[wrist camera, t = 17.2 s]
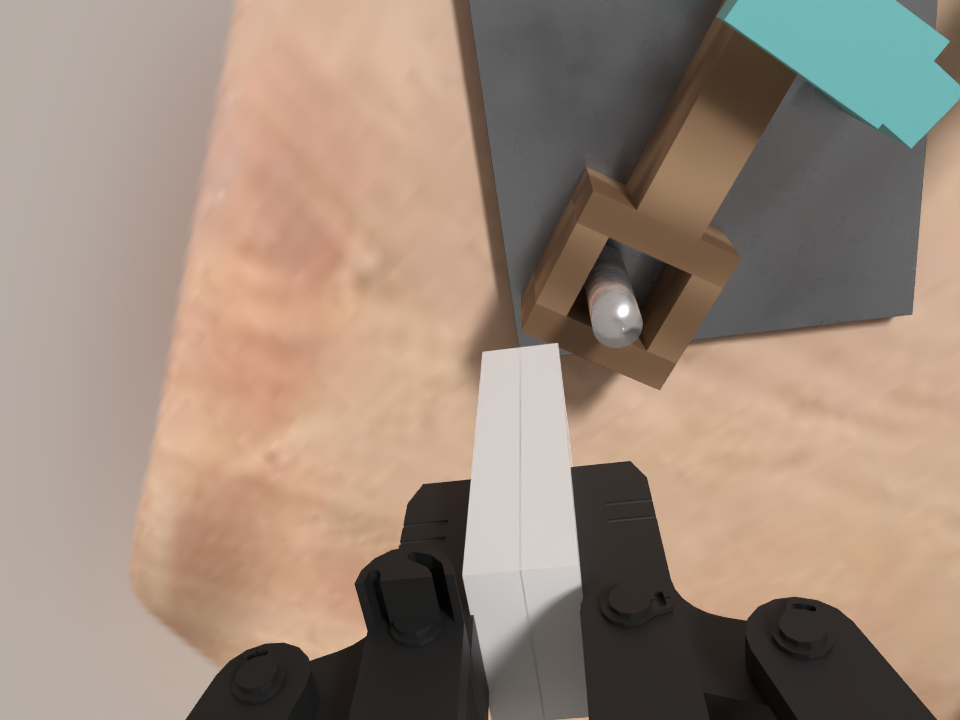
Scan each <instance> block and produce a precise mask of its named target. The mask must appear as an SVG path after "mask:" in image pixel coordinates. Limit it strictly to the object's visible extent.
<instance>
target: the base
mask: <svg viewBox="0 0 960 720" xmlns="http://www.w3.org/2000/svg"><path fill="white" fill-rule="evenodd" d="M723 1H724V0H469V5H470V12H471V19H472V26H473V33H474V40H475V47H476V54H477V61H478V68H479V75H480V81H481V88H482V95H483V102H484V109H485V116H486V123H487V130H488V137H489V144H490V150H491V157H492V164H493V171H494V178H495V185H496V192H497V199H498V206H499V213H500V220H501V226H502V233H503V240H504V247H505V254H506V261H507V268H508V275H509V282H510V289H511V295H512V302H513V309H514V316H515V323H516V330H517V337H518V344H519V347H527V346H536V345H544V344H549V343H547V342H545V341H542V340H540V339H537V338H535V337H533V336H530V335H528V334H526V333H523V332H521V296H522V294H523V292H524V290H525V288H526V286H527V284H528V282H529V280H530V278H531V276H532V274H533V272H534V270H535V268H536V266H537V264H538V262H539V260H540V258H541V256H542V254H543V252H544V250H545V248H546V246H547V245H548V243H549V241H550V239H551V237H552V235H553V233H554V231H555V229H556V227H557V225H558V223H559V221H560V219H561V217H562V215H563V213H564V211H565V209H566V207H567V205H568V203H569V201H570V199H571V197H572V195H573V193H574V191H575V189H576V187H577V185H578V183H579V181H580V179H581V177H582V175H583V173H584V171H585V169H586V167H588V168H590V169H592V170H594V171H596V172H598V173H601V174H603V175H605V176H607V177H609V178H611V179H614V180H616V181H618V182H620V183H622V184H624V185H626V184H627V182H628V180H629V178H630V176H631V174H632V173H633V171H634V169H635V167H636V165H637V163H638V161H639V159H640V157H641V156H642V154H643V152H644V150H645V148H646V146H647V144H648V142H649V140H650V139H651V137H652V135H653V133H654V131H655V129H656V127H657V125H658V123H659V122H660V120H661V118H662V116H663V114H664V112H665V110H666V108H667V107H668V105H669V103H670V101H671V99H672V97H673V95H674V93H675V91H676V90H677V88H678V86H679V84H680V82H681V80H682V78H683V76H684V74H685V73H686V71H687V69H688V67H689V65H690V63H691V61H692V59H693V58H694V56H695V54H696V52H697V50H698V48H699V46H700V44H701V42H702V41H703V39H704V37H705V35H706V33H707V31H708V29H709V27H710V25H711V24H712V22H713V20H714V18H715V16H716V14H717V12H718V10H719V9H720V7H721V5H722V3H723ZM896 1H897V2H898V3H900V4H901V5H902V6H904V7H905V8H906V9H908V10H909V11H910V12H912V13H913V14H914V15H916V16H917V17H918V18H920V19H921V20H922V21H924V22H925V23H926V24H928V25H929V26H930V27H932V28H933V29H934V30H935V27H936V14H937V2H938V0H896ZM926 138H927V133H926V134H925V135H924V136H923V137H922V138H921V139H920V140H919V141H918V142H917V143H916V144H915V145H914V146H913V147H912V148H909V147H907V146H906V145H904V144H902V143H900V142H898V141H896V140H894V139H893V138H891V137H889V136H887V135H885V134H883V133H881V132H880V131H878V130H876V129H874V128H872V127H870V126H868V125H867V124H865V123H863V122H861V121H859V120H857V119H855V118H854V117H852V116H850V115H848V114H847V113H846V112H845V111H844V110H842V109H841V108H840V107H839V106H838V105H837V104H836V103H834V102H833V101H832V100H831V99H830V98H829V97H828V96H826V95H825V94H824V93H823V92H822V91H820V90H819V89H818V88H816V87H815V86H813V85H812V84H810V83H809V82H808V81H806V80H805V79H803V78H802V77H801V76H799V75H798V74H797V76H796V78H795V80H794V81H793V83H792V85H791V86H790V88H789V90H788V91H787V93H786V95H785V96H784V98H783V100H782V102H781V103H780V105H779V107H778V108H777V110H776V112H775V113H774V115H773V117H772V119H771V120H770V122H769V124H768V125H767V127H766V129H765V130H764V132H763V134H762V135H761V137H760V139H759V141H758V142H757V144H756V146H755V147H754V149H753V151H752V152H751V154H750V156H749V158H748V159H747V161H746V163H745V164H744V166H743V168H742V169H741V171H740V173H739V174H738V176H737V178H736V180H735V181H734V183H733V185H732V186H731V188H730V190H729V191H728V193H727V195H726V196H725V198H724V200H723V202H722V203H721V205H720V207H719V208H718V210H717V212H716V213H715V215H714V217H713V219H712V220H711V222H710V224H711V225H714V226H716V227H718V228H720V229H722V231H723V232H724V233H725V235H726V236H727V238H728V239H729V241H730V242H731V244H732V245H733V246H734V248H735V249H736V251H737V252H738V254H739V255H740V257H741V258H742V259H741V260H740V262H739V263H738V265H737V267H736V268H735V270H734V272H733V273H732V275H731V276H730V278H729V280H728V281H727V283H726V284H725V286H724V288H723V289H722V291H721V292H720V294H719V296H718V297H717V299H716V301H715V302H714V304H713V305H712V307H711V309H710V310H709V312H708V313H707V315H706V317H705V318H704V320H703V321H702V323H701V325H700V326H699V328H698V330H697V331H696V333H695V334H694V336H693V338H692V339H691V340H697V339H706V338H714V337H723V336H732V335H740V334H749V333H757V332H766V331H775V330H783V329H792V328H801V327H809V326H818V325H826V324H835V323H844V322H852V321H861V320H870V319H878V318H887V317H895V316H904V315H912V311H913V299H914V287H915V274H916V262H917V249H918V237H919V225H920V212H921V200H922V188H923V175H924V163H925V150H926ZM665 264H666V263H665V262H663V261H661V260H659V259H656V258H654V257H652V256H650V255H647V254H645V253H643V252H641V251H638V250H636V249H634V248H632V247H630V246H627V245H625V244H623V243H621V242H618V241H616V240H614V239H612V238H608V240H607V242H606V243H605V245H604V247H603V249H602V251H601V253H600V255H599V257H598V258H597V260H596V262H595V264H594V266H593V268H592V270H591V271H590V273H589V275H588V277H587V279H586V281H585V283H584V284H583V286H582V288H581V290H580V291H581V292H583V293H586V295H587V301H588V306H589V311H590V317H591V322H592V328H593V332H594V335H595V337H596V338H597V340H598V341H599V342H600V343H602V344H603V345H605V346H608V347H612V348H621V347H625V346H628V345H630V344H631V343H633V342H634V341H635V340H636V339H637V338H638V337H639V335H640V333H641V331H642V326H643V322H642V317H641V314H640V311H639V309H640V307H641V305H642V304H643V302H644V300H645V299H646V297H647V295H648V293H649V292H650V290H651V288H652V286H653V285H654V283H655V281H656V280H657V278H658V276H659V274H660V273H661V271H662V269H663V267H664V266H665ZM568 354H573V353H571V352H568V351H566V350H563V349H561V348H559V355H568Z"/></svg>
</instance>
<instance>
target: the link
mask: <svg viewBox="0 0 960 720" xmlns="http://www.w3.org/2000/svg"><path fill="white" fill-rule="evenodd" d="M726 1H727V0H724V1H723V3H722V5H721V7H720V9H719V10H718V12H717V14H718V13H719V11H720V10H721V8H722V7H723V5H724V4H725V3H726ZM717 14H716V16H717ZM716 16H715V18H714V20H713V22H712V24H711V25H710V27H709V29H708V31H707V33H706V35H705V37H704V39H703V41H702V42H701V44H700V46H699V48H698V50H697V52H696V54H695V56H694V58H693V59H692V61H691V63H690V65H689V67H688V69H687V71H686V73H685V74H684V76H683V78H682V80H681V82H680V84H679V86H678V88H677V90H676V91H675V93H674V95H673V97H672V99H671V101H670V103H669V105H668V107H667V108H666V110H665V112H664V114H663V116H662V118H661V120H660V122H659V123H658V125H657V127H656V129H655V131H654V133H653V135H652V137H651V139H650V140H649V142H648V144H647V146H646V148H645V150H644V152H643V154H642V156H641V157H640V159H639V161H638V163H637V165H636V167H635V169H634V171H633V173H632V174H631V176H630V178H629V180H628V182H627V184H626V185H624V184H622V183H620V182H618V181H616V180H614V179H611V178H609V177H607V176H605V175H603V174H601V173H598V172H596V171H594V170H592V169H590V168H588V167H586V169H585V171H584V173H583V175H582V177H581V179H580V181H579V183H578V185H577V187H576V189H575V191H574V193H573V195H572V197H571V199H570V201H569V203H568V205H567V207H566V209H565V211H564V213H563V215H562V217H561V219H560V221H559V223H558V225H557V227H556V229H555V231H554V233H553V235H552V237H551V239H550V241H549V243H548V245H547V246H546V248H545V250H544V252H543V254H542V256H541V258H540V260H539V262H538V264H537V266H536V268H535V270H534V272H533V274H532V276H531V278H530V280H529V282H528V284H527V286H526V288H525V290H524V292H523V294H522V296H521V332H523V333H526V334H528V335H530V336H533V337H535V338H537V339H540V340H542V341H545V342H547V343H549V344H553V343H558V347H559V348H561V349H563V350H566V351H568V352H571V353H573V354H575V355H578V356H580V357H582V358H585V359H587V360H589V361H592V362H594V363H597V364H599V365H601V366H604V367H606V368H608V369H611V370H613V371H615V372H618V373H620V374H623V375H625V376H627V377H630V378H632V379H634V380H637V381H639V382H641V383H644V384H646V385H649V386H651V387H653V388H656V389H658V390H660V389H661V388H662V386H663V384H664V383H665V381H666V379H667V378H668V376H669V375H670V373H671V371H672V370H673V368H674V367H675V365H676V363H677V362H678V360H679V359H680V357H681V355H682V354H683V352H684V350H685V349H686V347H687V346H688V344H689V342H690V341H691V339H692V338H693V336H694V334H695V333H696V331H697V330H698V328H699V326H700V325H701V323H702V321H703V320H704V318H705V317H706V315H707V313H708V312H709V310H710V309H711V307H712V305H713V304H714V302H715V301H716V299H717V297H718V296H719V294H720V292H721V291H722V289H723V288H724V286H725V284H726V283H727V281H728V280H729V278H730V276H731V275H732V273H733V272H734V270H735V268H736V267H737V265H738V263H739V262H740V260H741V259H742V258H741V257H740V255H739V254H738V252H737V251H736V249H735V248H734V246H733V245H732V244H731V242H730V241H729V239H728V238H727V236H726V235H725V233H724V232H723V231H722V229H720V228H718V227H716V226H714V225H711V224H710V222H711V220H712V219H713V217H714V215H715V213H716V212H717V210H718V208H719V207H720V205H721V203H722V202H723V200H724V198H725V196H726V195H727V193H728V191H729V190H730V188H731V186H732V185H733V183H734V181H735V180H736V178H737V176H738V174H739V173H740V171H741V169H742V168H743V166H744V164H745V163H746V161H747V159H748V158H749V156H750V154H751V152H752V151H753V149H754V147H755V146H756V144H757V142H758V141H759V139H760V137H761V135H762V134H763V132H764V130H765V129H766V127H767V125H768V124H769V122H770V120H771V119H772V117H773V115H774V113H775V112H776V110H777V108H778V107H779V105H780V103H781V102H782V100H783V98H784V96H785V95H786V93H787V91H788V90H789V88H790V86H791V85H792V83H793V81H794V80H795V78H796V76H797V74H796V73H795V72H793V71H792V70H791V69H789V68H788V67H786V66H785V65H784V64H782V63H781V62H779V61H778V60H777V59H775V58H774V57H772V56H771V55H769V54H768V53H767V52H765V51H764V50H762V49H761V48H760V47H758V46H757V45H755V44H754V43H752V42H751V41H750V40H748V39H747V38H745V37H744V36H743V35H741V34H740V33H738V32H737V31H736V30H734V29H733V28H731V27H730V26H728V25H727V24H726V23H724V22H723V21H721V20H720V19H719V18H717V17H716ZM608 238H612V239H614V240H616V241H618V242H621V243H623V244H625V245H627V246H630V247H632V248H634V249H636V250H638V251H641V252H643V253H645V254H647V255H650V256H652V257H654V258H656V259H659V260H661V261H663V262H665V263H666V264H665V266H664V267H663V269H662V271H661V273H660V274H659V276H658V278H657V280H656V281H655V283H654V285H653V286H652V288H651V290H650V292H649V293H648V295H647V297H646V299H645V300H644V302H643V304H642V305H641V307H640V309H639V311H640V314H641V317H642V322H643V326H642V331H641V333H640V335H639V337H638V338H637V339H636V340H635V341H634V342H633V343H631V344H630V345H628V346H625V347H621V348H612V347H608V346H605V345H603V344H602V343H600V342H599V341H598V340H597V338H596V337H595V335H594V332H593V328H592V322H591V317H590V311H589V306H588V301H587V295H586V293H583V292H581V291H580V290H581V288H582V286H583V284H584V283H585V281H586V279H587V277H588V275H589V273H590V271H591V270H592V268H593V266H594V264H595V262H596V260H597V258H598V257H599V255H600V253H601V251H602V249H603V247H604V245H605V243H606V242H607V240H608Z"/></svg>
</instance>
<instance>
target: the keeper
mask: <svg viewBox="0 0 960 720" xmlns="http://www.w3.org/2000/svg"><path fill="white" fill-rule="evenodd" d="M716 17H717V18H719V19H720V20H721V21H723V22H724V23H726V24H727V25H728V26H730V27H731V28H733V29H734V30H736V31H737V32H738V33H740V34H741V35H743V36H744V37H745V38H747V39H748V40H750V41H751V42H752V43H754V44H755V45H757V46H758V47H760V48H761V49H762V50H764V51H765V52H767V53H768V54H769V55H771V56H772V57H774V58H775V59H777V60H778V61H779V62H781V63H782V64H784V65H785V66H786V67H788V68H789V69H791V70H792V71H793V72H795V73H796V74H798V75H799V76H801V77H802V78H803V79H805V80H806V81H808V82H809V83H810V84H812V85H813V86H815V87H816V88H818V89H819V90H820V91H822V92H823V93H824V94H825V95H826V96H828V97H829V98H830V99H831V100H832V101H833V102H834V103H836V104H837V105H838V106H839V107H840V108H841V109H842V110H844V111H845V112H846V113H847V114H848V115H850V116H852V117H854V118H855V119H857V120H859V121H861V122H863V123H865V124H867V125H868V126H870V127H872V128H874V129H876V130H878V131H880V132H881V133H883V134H885V135H887V136H889V137H891V138H893V139H894V140H896V141H898V142H900V143H902V144H904V145H906V146H907V147H909V148H912V147H913V146H914V145H915V144H916V143H917V142H918V141H919V140H920V139H921V138H922V137H923V136H924V135H925V134H926V133H927V132H928V131H929V130H930V129H931V128H932V127H933V126H934V125H935V124H936V123H937V122H938V121H939V120H940V119H941V118H942V117H943V116H944V115H945V114H946V113H947V112H948V111H949V110H950V108H951V107H952V106H953V105H954V104H955V103H956V102H957V101H958V100H959V99H960V85H959V84H958V83H957V82H956V81H955V80H954V79H953V78H952V77H951V76H949V75H948V74H947V73H946V72H945V71H944V70H943V69H942V68H941V67H940V66H939V65H938V64H937V63H935V62H934V60H935V59H936V58H937V57H938V55H939V54H940V53H941V52H942V50H943V49H944V48H945V47H946V46H947V44H948V43H949V42H950V41H949V40H948V39H946V38H945V37H944V36H942V35H941V34H940V33H938V32H937V31H936V30H934V29H933V28H932V27H930V26H929V25H928V24H926V23H925V22H924V21H922V20H921V19H920V18H918V17H917V16H916V15H914V14H913V13H912V12H910V11H909V10H908V9H906V8H905V7H904V6H902V5H901V4H900V3H898V2H897V1H896V0H727V1H726V3H725V4H724V5H723V7H722V8H721V10H720V11H719V13H718V14H717V16H716Z"/></svg>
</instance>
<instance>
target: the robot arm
mask: <svg viewBox="0 0 960 720" xmlns="http://www.w3.org/2000/svg"><path fill="white" fill-rule="evenodd" d="M400 543H401V545H399V549H395V550H391V551H389V552H387V553H385V554H383V555H381V556H379V557H377V558H375V559H374V560H372V561H371V562H370V563H369V564H368V565H367V566H366V567H365V568H364V569H362V570H361V572H360V574H359V576H358V578H357V580H356V582H355V587H356V591H357V594H358V598H359V601H360V605H361V609H362V612H363V616H364V619H365V623H366V627H367V630H368V632H367V636H366V637H365V638H363V639H362V640H360V641H359V642H357V643H355V644H354V645H352V646H350V647H347V648H345V649H343V650H340V651H338V652H335V653H332V654H329V655H326V656H323V657H320V658H317V659H314V660H311V661H309V658H308V656H307V655H306V654H305V653H304V652H303V651H302V650H301V649H300V648H299V647H296V646H293V645H290V644H286V643H270V644H264V645H261V646H258V647H255V648H252V649H249V650H246V651H245V652H243V653H242V654H240V655H238V656H237V657H235V658H234V659H232V660H230V661H229V662H228V663H227V664H226V665H225V666H224V668H223V669H222V670H221V671H220V672H219V673H218V674H217V675H216V677H215V678H214V679H213V681H212V682H211V684H210V685H209V686H208V688H207V690H206V691H205V692H204V694H203V695H202V697H201V698H200V699H199V701H198V702H197V704H196V705H195V707H194V708H193V710H192V711H191V713H190V714H189V716H188V717H187V718H186V720H488V709H489V708H490V713H491V718H492V720H554V719H568V718H582V717H589V720H937V719H936V718H935V717H934V716H933V714H932V713H931V712H930V711H929V710H928V709H927V707H926V706H925V705H924V704H923V703H922V702H921V700H920V699H919V698H918V697H917V696H916V695H915V693H914V692H913V691H912V690H911V689H910V688H909V686H908V685H907V684H906V683H905V682H904V681H903V679H902V678H901V677H900V676H899V675H898V674H897V672H896V671H895V670H894V669H893V668H892V667H891V665H890V664H889V663H888V662H887V661H886V659H885V658H884V657H883V656H882V655H881V654H880V652H879V651H878V650H877V649H876V648H875V647H874V645H873V644H872V643H871V642H870V641H869V640H868V638H867V637H866V636H865V635H864V634H863V633H862V631H861V630H860V629H859V628H858V627H857V626H856V624H855V623H854V622H853V621H852V620H850V619H849V618H848V617H847V616H846V615H844V614H843V613H842V612H841V611H840V610H838V609H837V608H834V607H832V606H830V605H827V604H825V603H823V602H820V601H818V600H813V599H806V598H799V597H790V598H781V599H774V600H772V601H770V602H768V603H766V604H763V605H761V606H759V607H758V608H757V609H756V610H755V611H754V612H753V613H752V614H751V616H750V617H749V618H748V620H747V621H745V620H738V619H732V618H726V617H721V616H717V615H713V614H709V613H707V612H705V611H702V610H700V609H698V608H696V607H694V606H692V605H691V604H690V603H688V602H687V601H686V600H684V599H683V598H682V597H681V596H680V595H679V593H678V592H677V591H676V590H675V588H674V586H673V583H672V581H671V578H670V574H669V570H668V565H667V561H666V557H665V553H664V548H663V544H662V540H661V536H660V531H659V527H658V523H657V519H656V514H655V510H654V506H653V502H652V497H651V493H650V489H649V484H648V480H647V477H646V476H645V475H644V474H643V473H642V472H641V471H640V470H639V469H638V468H637V467H636V466H635V465H634V464H633V463H632V462H631V461H626V462H617V463H607V464H597V465H587V466H577V467H573V462H572V454H571V445H570V437H569V429H568V421H567V413H566V404H565V396H564V388H563V380H562V372H561V363H560V355H559V347H558V343H553V344H544V345H536V346H527V347H519V348H510V349H502V350H493V351H485V352H482V363H481V375H480V386H479V397H478V408H477V419H476V430H475V441H474V452H473V463H472V474H471V479H470V480H460V481H451V482H441V483H431V484H423V485H422V486H421V488H420V489H419V490H418V491H417V493H416V494H415V495H414V496H413V498H412V499H411V500H410V501H409V503H408V504H407V510H406V515H405V520H404V528H403V530H402V535H401V540H400Z"/></svg>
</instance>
